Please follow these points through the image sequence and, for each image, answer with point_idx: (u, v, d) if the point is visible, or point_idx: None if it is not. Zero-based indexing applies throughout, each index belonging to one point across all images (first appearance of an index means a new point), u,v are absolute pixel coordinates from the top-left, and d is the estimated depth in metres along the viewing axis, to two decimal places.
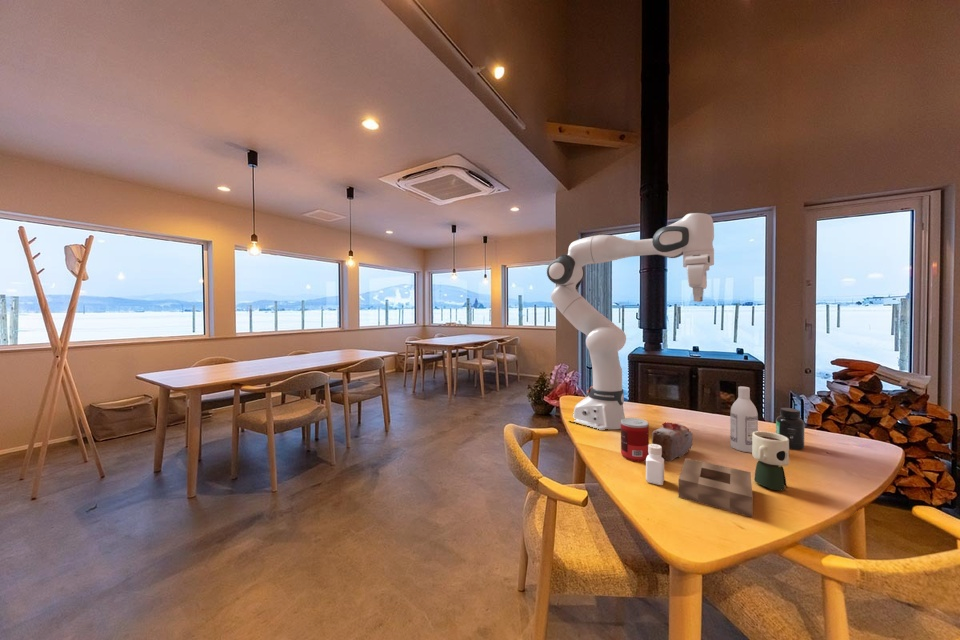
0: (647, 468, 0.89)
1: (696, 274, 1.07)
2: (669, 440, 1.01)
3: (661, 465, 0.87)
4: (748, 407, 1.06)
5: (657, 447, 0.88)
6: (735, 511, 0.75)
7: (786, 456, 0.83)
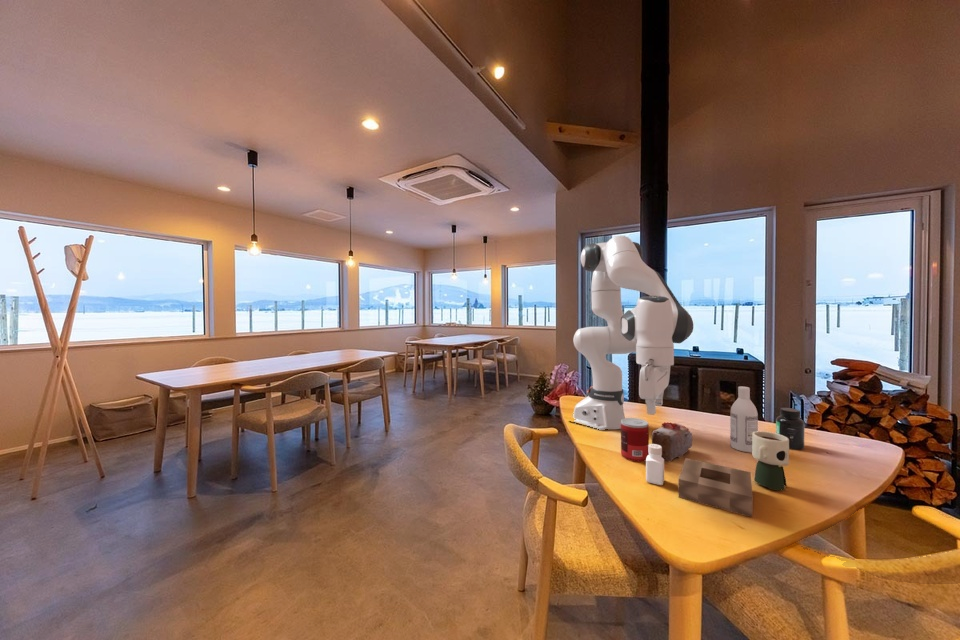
0: (647, 468, 0.89)
1: None
2: (669, 440, 1.01)
3: (661, 465, 0.87)
4: (748, 407, 1.06)
5: (657, 447, 0.88)
6: (735, 511, 0.75)
7: (786, 456, 0.83)
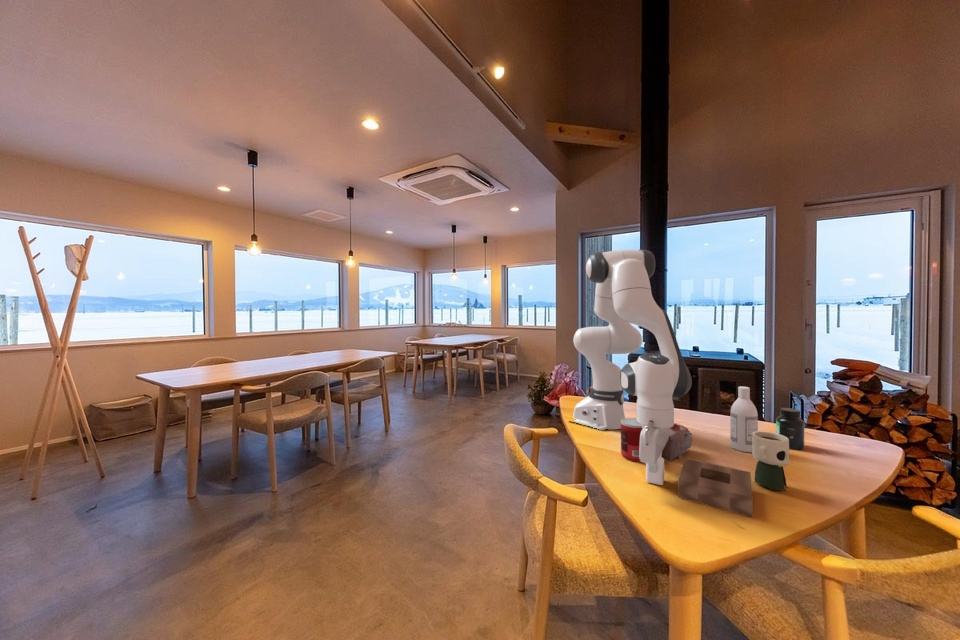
0: (647, 468, 0.89)
1: None
2: (668, 440, 1.01)
3: (661, 465, 0.87)
4: (748, 407, 1.06)
5: None
6: (735, 511, 0.75)
7: (786, 456, 0.83)
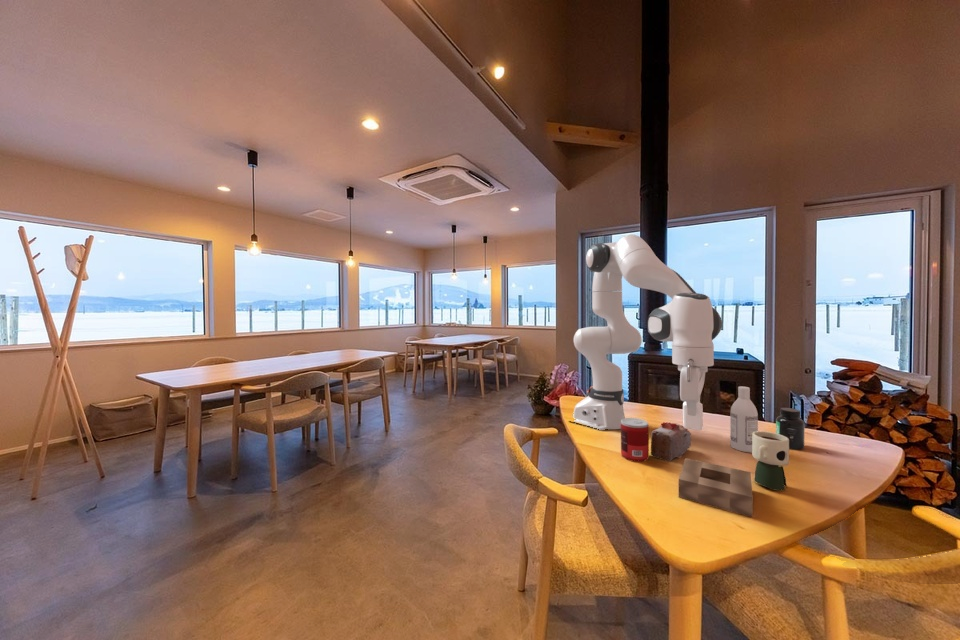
0: (684, 413, 0.84)
1: None
2: (668, 440, 1.01)
3: (700, 409, 0.82)
4: (748, 407, 1.06)
5: None
6: (735, 511, 0.75)
7: (786, 456, 0.83)
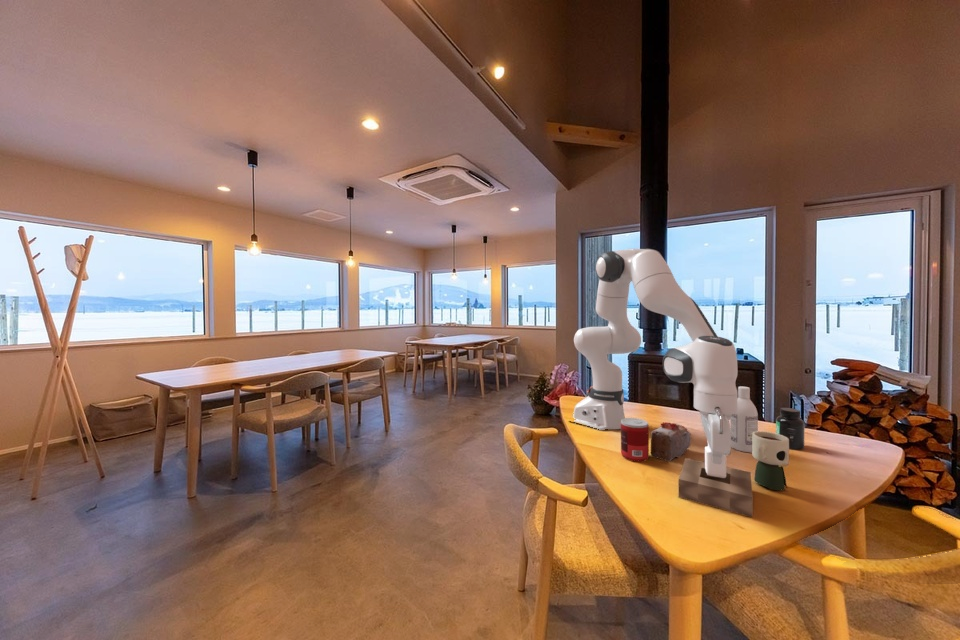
0: (708, 460, 0.82)
1: None
2: (668, 440, 1.01)
3: (724, 456, 0.81)
4: (748, 407, 1.06)
5: None
6: (735, 511, 0.75)
7: (786, 456, 0.83)
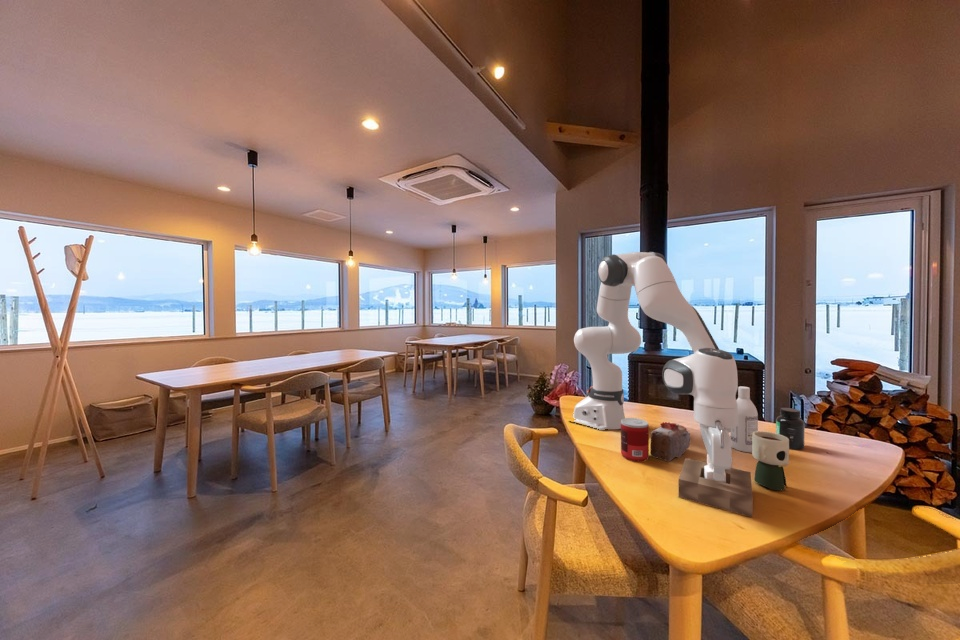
0: None
1: None
2: (668, 440, 1.01)
3: (724, 476, 0.81)
4: (748, 407, 1.06)
5: None
6: (735, 511, 0.75)
7: (786, 456, 0.83)
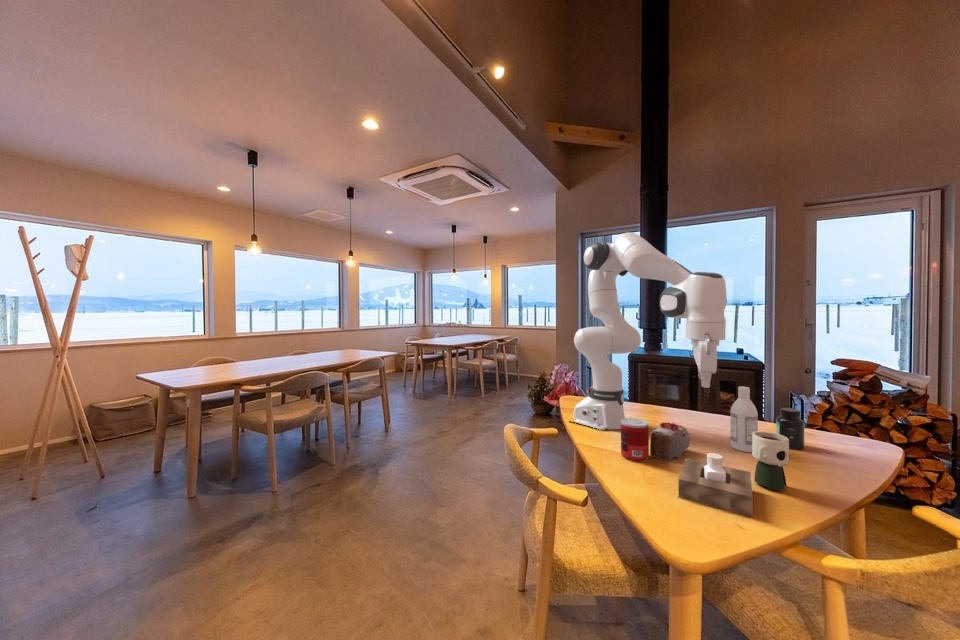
0: None
1: None
2: (668, 440, 1.01)
3: (724, 476, 0.81)
4: (748, 407, 1.06)
5: (719, 457, 0.82)
6: (735, 511, 0.75)
7: (786, 456, 0.83)
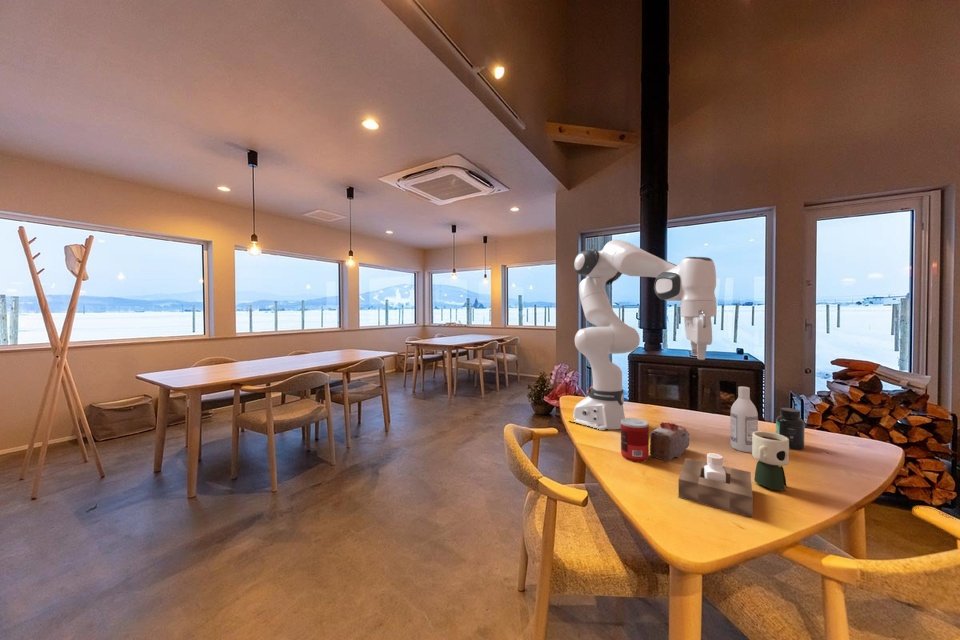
0: None
1: None
2: (667, 440, 1.01)
3: (724, 476, 0.81)
4: (748, 407, 1.06)
5: (718, 457, 0.82)
6: (735, 511, 0.75)
7: (786, 456, 0.83)
